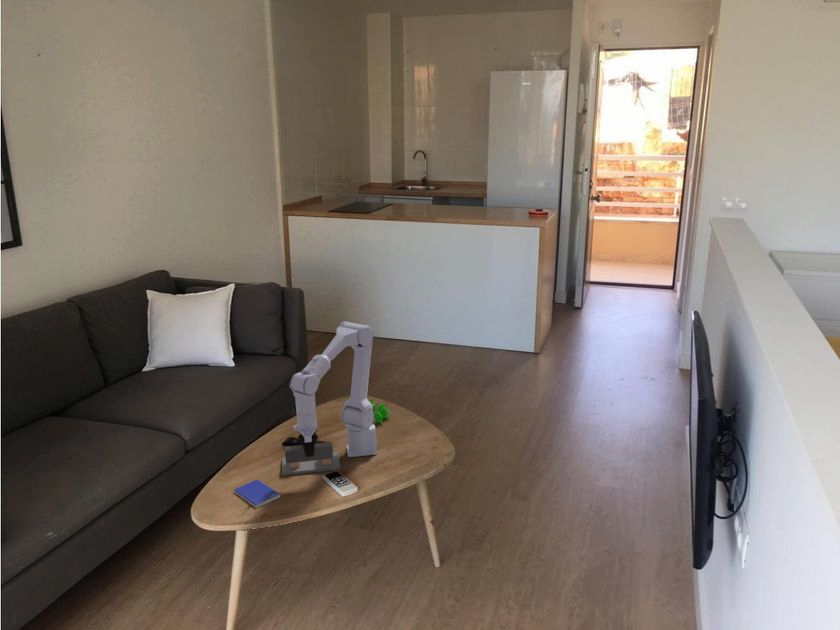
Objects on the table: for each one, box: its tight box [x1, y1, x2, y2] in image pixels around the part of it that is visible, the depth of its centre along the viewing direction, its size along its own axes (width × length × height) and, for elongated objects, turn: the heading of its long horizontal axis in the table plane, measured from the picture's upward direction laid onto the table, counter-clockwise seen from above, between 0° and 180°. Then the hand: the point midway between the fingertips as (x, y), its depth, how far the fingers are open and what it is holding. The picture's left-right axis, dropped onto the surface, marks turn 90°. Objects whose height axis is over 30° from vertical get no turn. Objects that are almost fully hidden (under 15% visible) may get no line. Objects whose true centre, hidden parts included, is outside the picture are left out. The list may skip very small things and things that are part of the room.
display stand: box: [281, 451, 341, 477], centre depth 211 cm, size 18×10×5 cm, turn 100°
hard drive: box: [234, 479, 281, 509], centre depth 196 cm, size 2×8×12 cm
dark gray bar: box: [284, 441, 334, 463], centre depth 200 cm, size 14×3×4 cm, turn 100°
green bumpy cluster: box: [368, 399, 391, 424], centre depth 244 cm, size 15×15×7 cm
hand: (309, 453), depth 200 cm, fingers closed on dark gray bar, 3 cm apart
